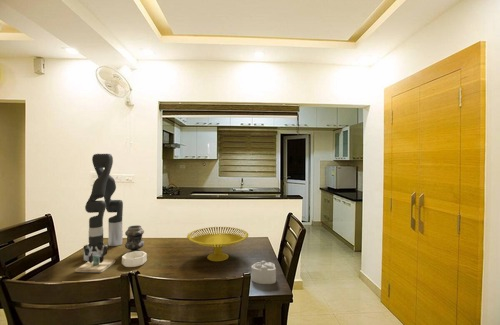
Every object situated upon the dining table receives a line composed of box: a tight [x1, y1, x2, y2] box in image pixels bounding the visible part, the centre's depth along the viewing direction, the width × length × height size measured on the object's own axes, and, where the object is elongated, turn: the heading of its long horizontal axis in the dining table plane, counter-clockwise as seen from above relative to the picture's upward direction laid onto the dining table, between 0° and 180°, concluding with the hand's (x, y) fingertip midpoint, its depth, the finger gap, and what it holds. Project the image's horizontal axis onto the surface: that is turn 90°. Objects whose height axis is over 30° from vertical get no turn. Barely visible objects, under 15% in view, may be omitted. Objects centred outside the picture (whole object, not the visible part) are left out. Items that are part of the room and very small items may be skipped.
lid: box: [74, 255, 116, 273], centre depth 154 cm, size 15×15×6 cm
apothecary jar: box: [124, 224, 145, 253], centre depth 177 cm, size 12×12×18 cm
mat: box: [75, 261, 116, 273], centre depth 154 cm, size 14×15×1 cm
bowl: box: [121, 250, 148, 268], centre depth 160 cm, size 13×13×5 cm
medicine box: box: [83, 248, 100, 263], centre depth 166 cm, size 8×4×9 cm, turn 149°
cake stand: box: [186, 226, 249, 262], centre depth 171 cm, size 40×40×15 cm
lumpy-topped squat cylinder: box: [250, 260, 277, 285], centre depth 141 cm, size 10×13×9 cm
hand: (96, 262), depth 154 cm, fingers open, 5 cm apart
